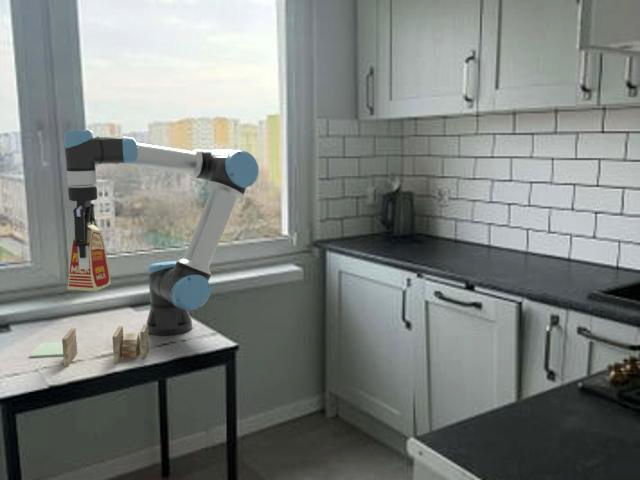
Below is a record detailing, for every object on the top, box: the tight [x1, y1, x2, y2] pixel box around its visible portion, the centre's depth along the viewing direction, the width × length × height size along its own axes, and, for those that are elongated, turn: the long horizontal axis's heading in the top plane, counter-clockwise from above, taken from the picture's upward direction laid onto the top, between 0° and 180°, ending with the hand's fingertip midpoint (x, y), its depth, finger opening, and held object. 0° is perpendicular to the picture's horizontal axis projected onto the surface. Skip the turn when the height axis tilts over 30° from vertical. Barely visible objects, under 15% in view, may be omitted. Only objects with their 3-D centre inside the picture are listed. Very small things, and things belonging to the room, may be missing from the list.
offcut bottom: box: [121, 346, 141, 359], centre depth 179 cm, size 4×6×2 cm, turn 5°
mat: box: [28, 340, 78, 359], centre depth 183 cm, size 11×11×1 cm
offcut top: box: [123, 332, 140, 347], centre depth 179 cm, size 4×6×2 cm, turn 11°
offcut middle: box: [122, 338, 141, 353], centre depth 179 cm, size 4×6×2 cm, turn 5°
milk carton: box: [67, 221, 112, 292], centre depth 170 cm, size 9×9×20 cm
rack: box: [61, 324, 150, 367], centre depth 176 cm, size 22×10×8 cm, turn 99°
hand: (88, 265), depth 171 cm, fingers closed on milk carton, 8 cm apart
